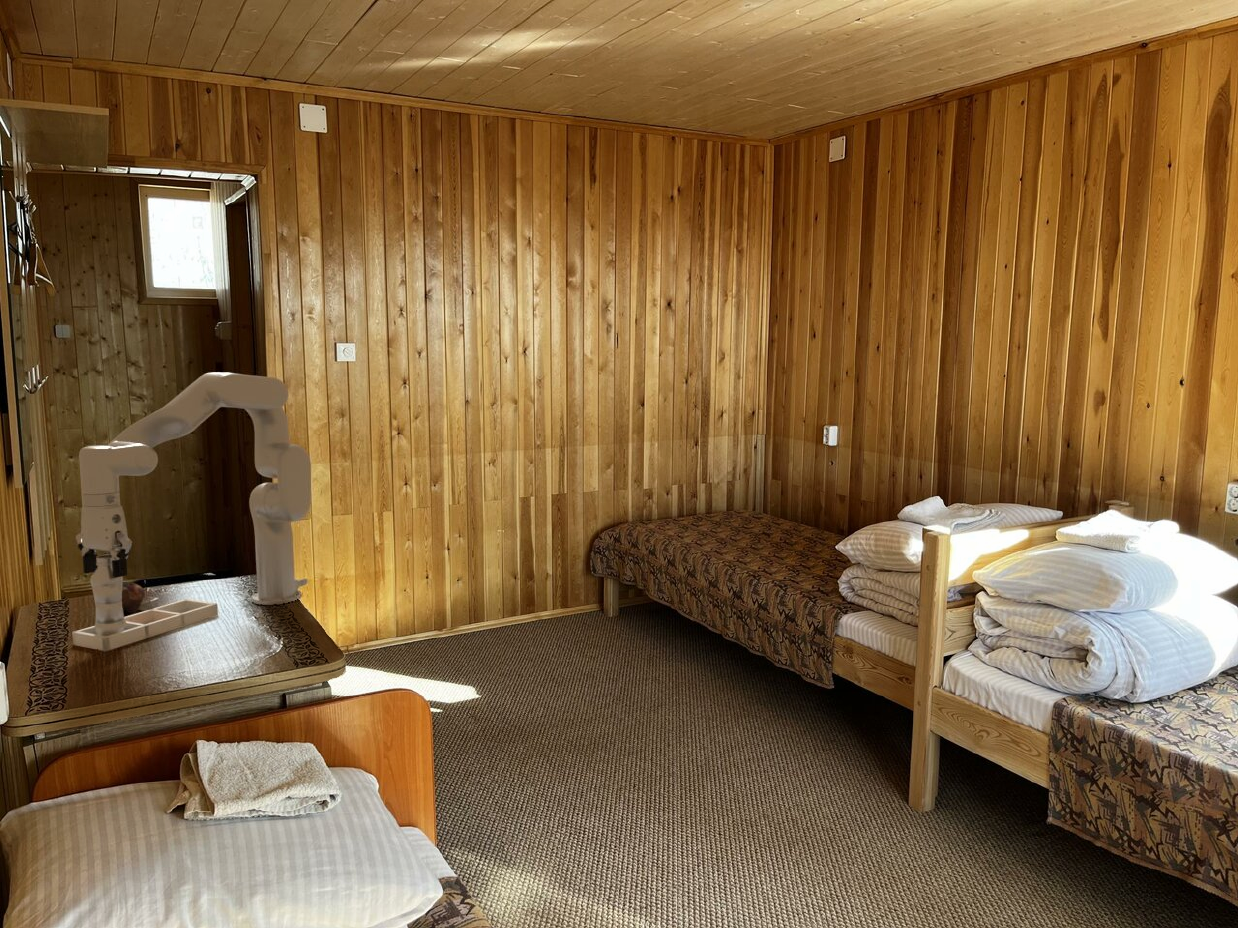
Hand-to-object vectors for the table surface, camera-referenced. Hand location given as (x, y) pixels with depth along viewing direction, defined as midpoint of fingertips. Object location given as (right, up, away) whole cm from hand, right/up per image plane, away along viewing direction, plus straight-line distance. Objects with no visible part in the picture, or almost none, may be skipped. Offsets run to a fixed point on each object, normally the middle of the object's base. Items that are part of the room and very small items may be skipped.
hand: (105, 574), depth 211 cm
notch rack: (+4, -15, +11) cm, 19 cm away
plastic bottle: (0, -16, +2) cm, 16 cm away
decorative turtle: (-10, -13, +26) cm, 31 cm away
